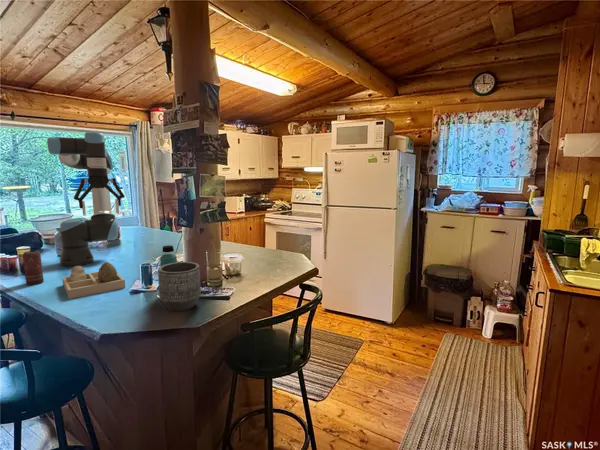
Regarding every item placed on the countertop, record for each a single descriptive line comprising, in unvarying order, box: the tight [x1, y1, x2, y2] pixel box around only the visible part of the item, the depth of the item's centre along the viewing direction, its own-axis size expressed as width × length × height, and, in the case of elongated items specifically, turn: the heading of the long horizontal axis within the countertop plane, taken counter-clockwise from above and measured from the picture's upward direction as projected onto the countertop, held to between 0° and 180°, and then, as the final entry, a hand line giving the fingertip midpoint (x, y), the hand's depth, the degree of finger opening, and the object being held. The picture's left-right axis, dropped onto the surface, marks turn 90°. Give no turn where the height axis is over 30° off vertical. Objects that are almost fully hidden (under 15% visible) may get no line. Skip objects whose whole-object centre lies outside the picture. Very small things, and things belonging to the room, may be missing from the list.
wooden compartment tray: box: [62, 271, 126, 300], centre depth 148 cm, size 20×20×4 cm
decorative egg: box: [97, 261, 118, 283], centre depth 146 cm, size 7×7×10 cm
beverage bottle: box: [159, 244, 178, 267], centre depth 137 cm, size 6×7×20 cm
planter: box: [157, 261, 202, 312], centre depth 126 cm, size 14×14×15 cm
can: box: [22, 250, 44, 286], centre depth 151 cm, size 6×6×14 cm
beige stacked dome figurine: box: [69, 265, 87, 282], centre depth 148 cm, size 6×6×8 cm
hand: (101, 214), depth 160 cm, fingers open, 13 cm apart
